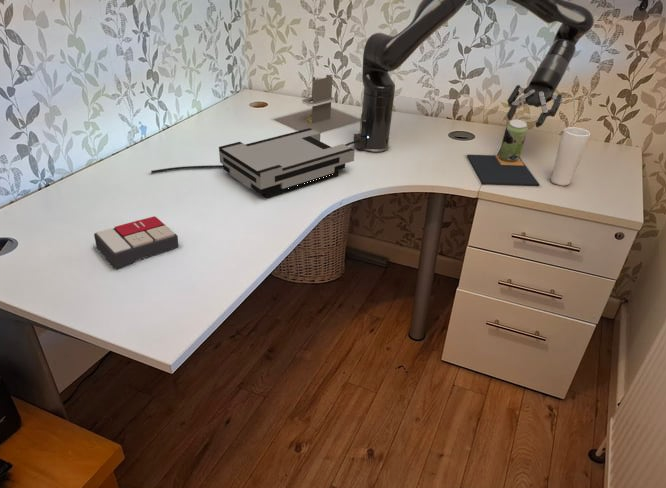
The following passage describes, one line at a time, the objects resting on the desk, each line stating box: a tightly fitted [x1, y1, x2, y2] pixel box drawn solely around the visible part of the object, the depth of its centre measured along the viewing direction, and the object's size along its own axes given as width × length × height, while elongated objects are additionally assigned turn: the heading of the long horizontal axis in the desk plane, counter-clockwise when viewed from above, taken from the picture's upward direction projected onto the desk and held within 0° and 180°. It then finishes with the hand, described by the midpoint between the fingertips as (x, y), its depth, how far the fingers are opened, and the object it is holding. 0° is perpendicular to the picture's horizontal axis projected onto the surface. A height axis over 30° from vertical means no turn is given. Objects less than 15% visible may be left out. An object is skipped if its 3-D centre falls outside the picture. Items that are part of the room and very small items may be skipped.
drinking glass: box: [550, 126, 591, 187], centre depth 147 cm, size 7×7×15 cm
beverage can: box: [498, 118, 529, 161], centre depth 159 cm, size 6×7×12 cm
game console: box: [218, 128, 356, 200], centre depth 150 cm, size 21×32×8 cm, turn 127°
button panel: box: [94, 215, 179, 269], centre depth 118 cm, size 11×4×15 cm
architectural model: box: [273, 74, 361, 134], centre depth 185 cm, size 20×25×15 cm
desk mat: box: [466, 154, 540, 187], centre depth 158 cm, size 16×20×1 cm
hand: (522, 122), depth 157 cm, fingers open, 8 cm apart
